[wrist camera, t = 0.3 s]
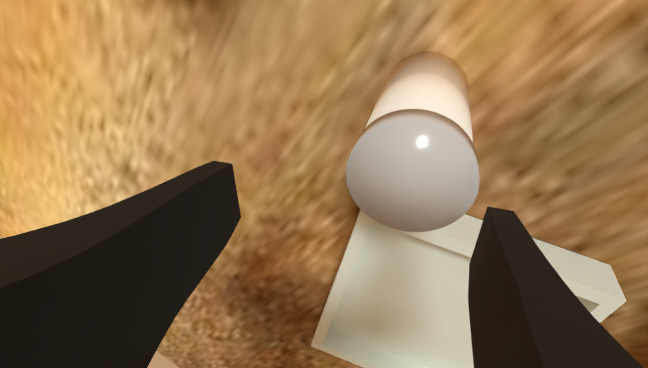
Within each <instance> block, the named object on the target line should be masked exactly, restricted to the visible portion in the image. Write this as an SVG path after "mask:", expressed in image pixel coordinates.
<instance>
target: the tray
mask: <svg viewBox="0 0 648 368" xmlns="http://www.w3.org/2000/svg"><path fill="white" fill-rule="evenodd" d="M482 222H483V220H480V219H477V218H474V217H471V216H468V215H466V214H464V215H463V216H462V217H461V218H459V219H458V220H457V221H455V222H453V223H452V224H450V225H448V226H445V227H443V228H440V229H437V230H432V231H426V232H406V231H400V230H396V229H392V228H389V227H387V226H384V225H382V224H380V223H378V222H376V221H374V220H373V219H371V218H370V217H369V216H367V215H366V214H365V213H364V212H363V211H362V210H361V209H360V212H359V214H358V217H357V220H356V222H355V225H354V228H353V231H352V233H351V236H350V239H349V241H348V244H347V247H346V249H345V252H344V255H343V258H342V260H341V263H340V266H339V268H338V271H337V274H336V276H335V279H334V282H333V285H332V287H331V290H330V293H329V295H328V298H327V301H326V304H325V306H324V309H323V312H322V314H321V317H320V320H319V323H318V326H317V329H316V331H315V334H314V337H313V340H312V343H311V347H314V348H316V349H318V350H321V351H323V352H326V353H328V354H331V355H333V356H336V357H338V358H341V359H343V360H346V361H348V362H351V363H353V364H356V365H358V366H361V367H363V368H474V364H473V353H472V342H471V330H470V318H469V306H468V282H469V263H470V260H471V257H472V254H473V251H474V248H475V244H476V241H477V238H478V235H479V232H480V229H481V226H482ZM532 239H533V240H534V241H535V243H536V244H537V246H538V247H539V249H540V250H541V251H542V253H543V254H544V256H545V257H546V258H547V260H548V261H549V262H550V264H551V265H552V266H553V268H554V269H555V270H556V272H557V273H558V274H559V276H560V277H561V278H562V280H563V281H564V282H565V283H566V285H567V286H568V287H569V288H570V290H571V291H572V292H573V293H574V294H575V296H576V297H577V298H578V299H579V300H580V301H581V303H582V304H583V305H584V306H585V307H586V308H587V310H588V311H589V312H590V313H591V314H592V315H593V317H594V318H595V319H596V320H597V321H598V322H599V323H600V322H602V321H603V320H604V319H605V318H606V317H608V316H609V315H610V314H611V313H612V312H614V311H615V310H616V309H617V308H619V307H620V306H621V305H622V304H623V303H625V302H626V299H625V296H624V294H623V292H622V290H621V288H620V286H619V283H618V281H617V279H616V277H615V275H614V272H613V270H612V268H611V266H610V265H608V264H606V263H603V262H600V261H597V260H594V259H591V258H588V257H586V256H583V255H580V254H577V253H574V252H571V251H568V250H566V249H563V248H560V247H557V246H554V245H551V244H548V243H546V242H543V241H540V240H537V239H534V238H532Z"/></svg>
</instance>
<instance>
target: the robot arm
mask: <svg viewBox="0 0 648 368" xmlns="http://www.w3.org/2000/svg"><path fill="white" fill-rule="evenodd" d="M240 218H241V215H240V209H239V202H238V196H237V190H236V184H235V178H234V172H233V166H232V164H230V163H224V162H218V161H213V162H210V163H207V164H204V165H202V166H199V167H197V168H195V169H193V170H190V171H188V172H186V173H184V174H182V175H179V176H177V177H175V178H173V179H171V180H168V181H166V182H164V183H162V184H160V185H157V186H155V187H153V188H151V189H149V190H146V191H144V192H142V193H139V194H137V195H134V196H132V197H130V198H127V199H125V200H123V201H120V202H118V203H115V204H113V205H111V206H108V207H105V208H103V209H100V210H97V211H95V212H92V213H89V214H86V215H83V216H80V217H77V218H74V219H71V220H68V221H65V222H62V223H58V224H55V225H51V226H48V227H44V228H40V229H37V230H33V231H30V232H26V233H22V234H19V235H15V236H11V237H7V238H2V239H0V368H147V367H148V365H149V363H150V361H151V359H152V357H153V355H154V354H155V352H156V350H157V348H158V346H159V344H160V343H161V341H162V339H163V337H164V336H165V334H166V332H167V331H168V329H169V327H170V325H171V324H172V322H173V320H174V318H175V317H176V315H177V314H178V312H179V311H180V309H181V308H182V306H183V305H184V303H185V302H186V300H187V299H188V297H189V296H190V295H191V293H192V292H193V291H194V289H195V288H196V286H197V285H198V284H199V282H200V281H201V280H202V278H203V277H204V275H205V274H206V273H207V271H208V270H209V269H210V267H211V266H212V264H213V263H214V262H215V260H216V259H217V257H218V256H219V255H220V253H221V252H222V250H223V249H224V247H225V246H226V244H227V243H228V241H229V239H230V237H231V235H232V234H233V232H234V230H235V228H236V226H237V224H238V222H239V220H240ZM468 306H469V318H470V330H471V342H472V353H473V364H474V368H643V367H642V366H641V365H640V364H639V363H638V362H637V361H636V360H635V359H634V358H633V357H632V356H631V355H630V354H629V353H628V352H627V351H626V350H625V349H624V348H623V347H622V346H621V345H620V344H619V343H618V342H617V341H616V340H615V339H614V338H613V337H612V336H611V335H610V334H609V333H608V332H607V331H606V330H605V329H604V327H603V326H602V325H601V324H600V323H599V322H598V321H597V320H596V319H595V318H594V317H593V315H592V314H591V313H590V312H589V311H588V310H587V308H586V307H585V306H584V305H583V304H582V303H581V301H580V300H579V299H578V298H577V297H576V296H575V294H574V293H573V292H572V291H571V290H570V288H569V287H568V286H567V285H566V283H565V282H564V281H563V280H562V278H561V277H560V276H559V274H558V273H557V272H556V270H555V269H554V268H553V266H552V265H551V264H550V262H549V261H548V260H547V258H546V257H545V256H544V254H543V253H542V251H541V250H540V249H539V247H538V246H537V244H536V243H535V241H534V240H533V239H532V237H531V236H530V234H529V233H528V231H527V230H526V228H525V227H524V225H523V224H522V223H521V221H520V220H519V218H518V217H517V215H516V214H515V213H514V211H510V210H504V209H498V208H492V207H487V210H486V213H485V216H484V219H483V222H482V226H481V229H480V232H479V235H478V238H477V241H476V244H475V248H474V251H473V254H472V257H471V260H470V263H469V282H468Z"/></svg>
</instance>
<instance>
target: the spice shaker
mask: <svg viewBox="0 0 648 368" xmlns="http://www.w3.org/2000/svg"><path fill="white" fill-rule="evenodd" d="M346 182H347V186H348V190H349V192H350V195H351V196H352V198H353V200H354V202H355V203H356V204H357V206H358V207H359V208H360V209H361V210H362V211H363V212H364V213H365V214H366V215H367V216H369V217H370V218H371V219H373V220H374V221H376V222H378V223H380V224H382V225H384V226H387V227H389V228H392V229H396V230H400V231H406V232H426V231H432V230H437V229H440V228H443V227H445V226H448V225H450V224H452V223H453V222H455V221H457V220H458V219H459V218H461V217H462V216H463V215H464V214H465V213H466V212H467V211H468V210H469V208H470V207H471V206H472V204H473V202H474V200H475V198H476V196H477V193H478V189H479V168H478V158H477V153H476V150H475V147H474V144H473V138H472V126H471V114H470V102H469V90H468V82H467V78H466V75H465V74H464V72H463V70H462V69H461V67H460V66H459V65H458V64H457V63H456V62H455V61H454V60H452V59H451V58H449V57H447V56H445V55H442V54H439V53H434V52H422V53H417V54H414V55H411V56H409V57H407V58H405V59H403V60H402V61H400V62H399V63H398V64H397V65H396V66H395V67H394V68H393V69H392V71H391V72H390V74H389V76H388V78H387V80H386V82H385V85H384V87H383V89H382V91H381V94H380V96H379V98H378V100H377V103H376V105H375V107H374V109H373V112H372V114H371V116H370V118H369V121H368V123H367V125H366V128H365V129H364V130H363V131H362V133H361V134H360V135H359V137H358V139H357V141H356V143H355V145H354V147H353V149H352V152H351V154H350V156H349V159H348V162H347V166H346Z"/></svg>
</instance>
